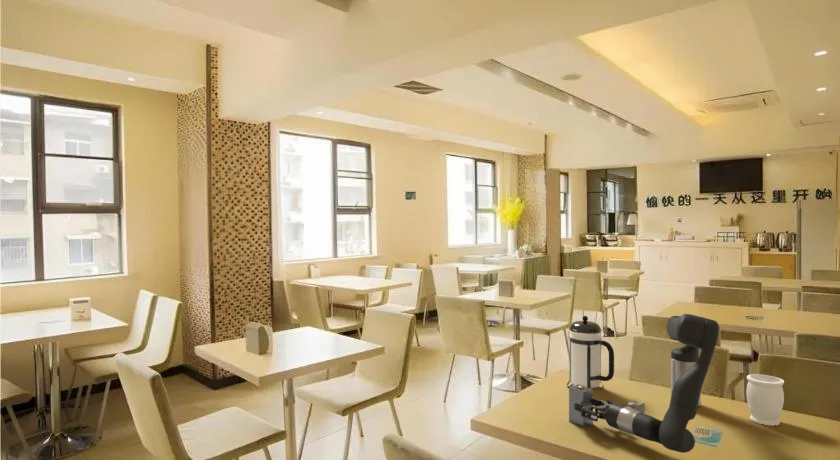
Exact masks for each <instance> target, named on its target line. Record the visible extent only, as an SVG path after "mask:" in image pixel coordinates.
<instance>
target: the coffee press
mask: <svg viewBox="0 0 840 460" xmlns="http://www.w3.org/2000/svg"><path fill="white" fill-rule="evenodd" d="M581 318H582V320H575V321H572V323H571V324H570V326H569V328H568V333H569V364H568V365H569V366H568V367H569V368H568V369H569V372H568V375H569V377H568V378H569V379H568V382H566V387H567V388H568V389H569V387H571V386H575V385H582V386H585V387H588V388H591V389H595V388H597V387H598V388H600V389H604V388H605V386H604V384H603V383H602V382H609V381H611V380H612V379H613V378H614V375H615V352H614V348H613V346H612V345H611V343H609V342H608V341H605V340H602V337H601V336H602V334H601V333H602V328H601V326H600V324H598V323H597V322H594V321H589V317H588V316H587V315H583V316H582V317H581ZM602 346H604V347H605V348H606V349H607V351H608V373H607V376H604V375H602ZM570 383H571V384H570ZM569 384H570V385H569ZM600 384H601V385H602V386H600ZM568 385H569V386H568Z"/></svg>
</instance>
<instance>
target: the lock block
mask: <svg viewBox="0 0 840 460" xmlns="http://www.w3.org/2000/svg"><path fill="white" fill-rule="evenodd" d="M593 398H594V388H588V387H585V386H582V385H573V386H571V387H569V388H568V422H569V423H572V424H574V425H576V426H578V427H581V428H585V427H589V426H591V425H593V424H594V421H593V420H590V419H587V418H585V417H582V416H581V412H579V411H577V410H575V409H574V404H575V403H578V404H581V405H583V406H587V407H591V406H594V405H593ZM588 410H589V409H588ZM590 411H591V410H590Z"/></svg>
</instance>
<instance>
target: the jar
mask: <svg viewBox="0 0 840 460" xmlns="http://www.w3.org/2000/svg"><path fill="white" fill-rule="evenodd" d="M746 379H747V381H748V382H747V385H746V401H747V406H748V411H749V412H750V414H751V415H750V416H749V419H750V420H751V421H752V422H754V423H756V424H759V425H762V424H763V425H765V426H771V427H775V425H776V426H779V425H780V424H781V422H780V420H779V418H780V417H781V415H782V413H783V408H784V401H785V393H784V389H783V385H784V384H785V380H784V379H782V378H780V377H776V376H772V375H767V374H762V373H761V374H760V373H755V374H754V373H753V374H752V373H751V374H748V375H746ZM763 425H762V426H763Z"/></svg>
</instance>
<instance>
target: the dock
mask: <svg viewBox="0 0 840 460" xmlns="http://www.w3.org/2000/svg"><path fill="white" fill-rule="evenodd" d="M627 407H629V408H632V409H634V410H637V411H639V412H641V413H643V414H645V402H642V401H640V402H638V403H636V402H632V401H630V402H628V403H627ZM657 419H658V420H661V419H659V418H657ZM662 420H663V419H662ZM662 420H661V421H662Z"/></svg>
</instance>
